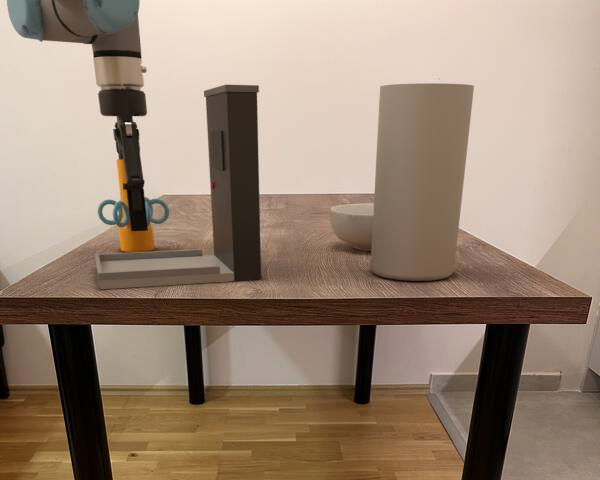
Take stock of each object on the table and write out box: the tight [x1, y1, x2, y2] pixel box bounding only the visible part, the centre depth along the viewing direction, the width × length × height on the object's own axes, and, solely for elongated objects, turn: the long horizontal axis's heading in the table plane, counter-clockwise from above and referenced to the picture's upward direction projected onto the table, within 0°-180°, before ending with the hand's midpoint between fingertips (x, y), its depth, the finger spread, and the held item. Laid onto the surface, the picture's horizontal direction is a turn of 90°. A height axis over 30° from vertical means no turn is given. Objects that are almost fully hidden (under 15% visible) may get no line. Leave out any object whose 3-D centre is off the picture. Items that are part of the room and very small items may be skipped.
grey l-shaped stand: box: [94, 84, 262, 290], centre depth 91 cm, size 23×16×25 cm
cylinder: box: [97, 158, 170, 253], centre depth 111 cm, size 12×10×15 cm
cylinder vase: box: [370, 82, 475, 282], centre depth 91 cm, size 12×12×25 cm
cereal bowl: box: [329, 202, 374, 252], centre depth 116 cm, size 17×17×7 cm
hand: (136, 225), depth 113 cm, fingers open, 13 cm apart
